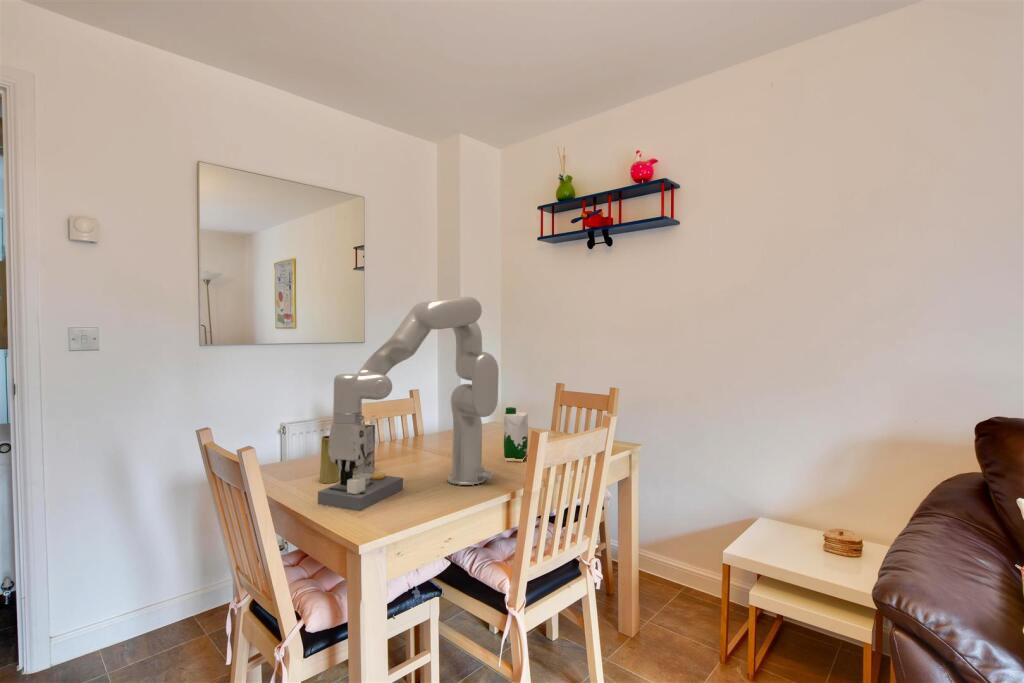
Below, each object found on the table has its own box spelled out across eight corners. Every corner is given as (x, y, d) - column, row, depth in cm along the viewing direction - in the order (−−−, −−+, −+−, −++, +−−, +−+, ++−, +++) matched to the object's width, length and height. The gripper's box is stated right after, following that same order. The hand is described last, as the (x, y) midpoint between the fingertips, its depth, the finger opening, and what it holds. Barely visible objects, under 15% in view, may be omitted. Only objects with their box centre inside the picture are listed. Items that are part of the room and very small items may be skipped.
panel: (403, 489, 152) (403, 477, 152) (360, 511, 133) (360, 498, 133) (364, 483, 157) (364, 472, 157) (317, 504, 137) (318, 491, 137)
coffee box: (375, 471, 172) (376, 424, 172) (364, 476, 166) (365, 428, 166) (352, 469, 174) (352, 423, 174) (341, 473, 168) (341, 426, 168)
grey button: (374, 484, 146) (374, 474, 146) (364, 489, 142) (364, 478, 142) (361, 482, 148) (361, 472, 148) (350, 487, 143) (350, 476, 143)
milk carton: (506, 456, 197) (507, 406, 197) (528, 458, 195) (529, 407, 195) (501, 461, 188) (502, 409, 188) (525, 463, 187) (526, 410, 187)
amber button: (388, 483, 153) (388, 473, 153) (379, 488, 148) (379, 477, 148) (375, 481, 155) (375, 471, 155) (365, 486, 150) (365, 475, 150)
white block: (365, 498, 139) (365, 477, 139) (355, 503, 135) (356, 481, 135) (356, 497, 140) (356, 476, 140) (346, 501, 136) (347, 480, 136)
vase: (342, 478, 163) (342, 434, 162) (336, 483, 156) (336, 438, 156) (323, 478, 162) (324, 434, 162) (316, 483, 156) (317, 438, 156)
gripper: (378, 418, 139) (377, 483, 139) (334, 414, 144) (333, 477, 145) (361, 422, 132) (360, 491, 132) (316, 418, 137) (315, 484, 138)
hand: (346, 483), depth 138 cm, fingers closed
